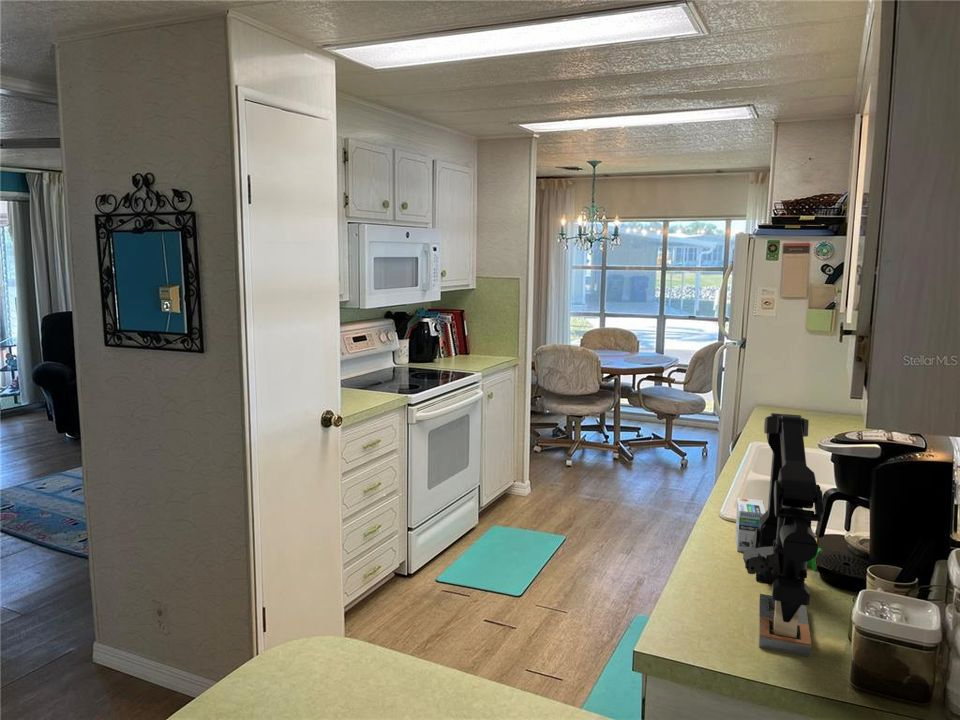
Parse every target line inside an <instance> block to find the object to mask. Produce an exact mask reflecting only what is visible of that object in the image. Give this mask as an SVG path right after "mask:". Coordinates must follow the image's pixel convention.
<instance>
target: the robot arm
mask: <svg viewBox="0 0 960 720" xmlns="http://www.w3.org/2000/svg"><path fill="white" fill-rule="evenodd" d="M809 421H810V420H809V419H808V418H807V419H806V418H804V417H802V415H800V414H788V413H776V412H774V413H773V412H771V413H770V415H769V416H765V418H764V425H763V431H764V434H766V439H767V443H768V446H769V447H770V449H771V451H772V456H771V467H770V480H769V490H768V501H767V502H768V503H767V510H766V512H765V513H764V514H763V516H762V517H761V518H760V520H759V528H756V530H755V534H754V539H753V548H754V549H748V550H745V551H744V552H743V556H742V559H743V562H744V564H745V565H744V566H745V569H746V571H747V574H748V575H755V581H757V582H761V583H767V584H768V583H769V584H772V586H771V589H772V590H771V596H772V599H774V600H776V601H780V602H781V609H782V616H783V621H784V622H790V621H791V619H792V618H793V616H794V615H795V613H796V612H797V610H798V609H799V608H800V606H801V605H805V606H806V607H807V606H810V599H811V593H810V587H809V586H808V585H807V583H806V582H805V581H806V579H807V578H808V569H807V568H808V567H807V566H808V565H807V561H810V560H812V559H813V558H814V557H815V556H816V554H817V551H818V548H819V546H818V541H817V539H816V536H815V533H814V531H813V529H812V522H819V523H820V522H821V521H822V519H821V518H822V517H821V516H823V515H824V512H825V511H824V497H823V491H822V489H821V486H820V485H819V484H817V479H816V475H815V472H814V471H813V470H812V469H810V467H808V466H807V458H806V449H805V448H806V447H805V441H804V438H806V437H809V425H810V424H809V423H810V422H809ZM813 508H814V510H811V509H813ZM807 509H808V510H807ZM809 509H810V510H809Z"/></svg>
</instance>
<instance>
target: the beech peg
mask: <svg viewBox="0 0 960 720" xmlns="http://www.w3.org/2000/svg"><path fill="white" fill-rule="evenodd" d="M773 612H774V631H773V635H777V636H783V637H788V638H793V639H797V625H798V613H799V609H798V610H797V612H796V613H795V615H794V616H793V618H792V619H791V621H790V622H784V621H783V616H782V609H781V602H780V601H776V600H775V609H774V611H773Z"/></svg>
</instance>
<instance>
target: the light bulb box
mask: <svg viewBox="0 0 960 720" xmlns="http://www.w3.org/2000/svg"><path fill="white" fill-rule="evenodd" d="M764 501H765V500H762V499H754V498H753V499H751V498H744V497H737V501H736V514H735V515H736V519H735V535H734V536H735V538H734V539H735V546H736V551H737V552H741V553H742V552H744V551H745V550H748V549H754V548H753V539H754V534H755V530H756V528H759V520H760V518H761V517H762V516H763V514H764V513H765V512H766V511H767V510H766V507H765V502H764Z"/></svg>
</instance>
